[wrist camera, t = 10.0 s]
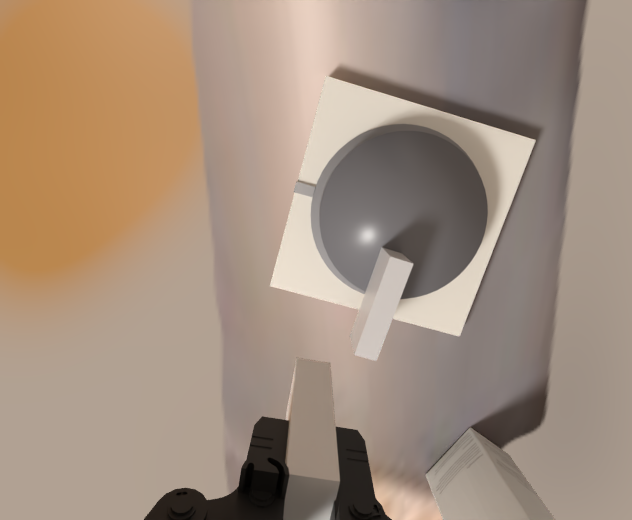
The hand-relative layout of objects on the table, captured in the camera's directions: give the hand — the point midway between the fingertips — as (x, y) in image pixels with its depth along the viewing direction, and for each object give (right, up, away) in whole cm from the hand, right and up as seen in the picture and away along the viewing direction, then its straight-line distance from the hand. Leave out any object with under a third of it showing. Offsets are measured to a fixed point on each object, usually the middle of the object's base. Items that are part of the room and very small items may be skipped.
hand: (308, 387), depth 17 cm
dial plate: (+8, +10, +21) cm, 25 cm away
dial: (+7, +8, +20) cm, 22 cm away
